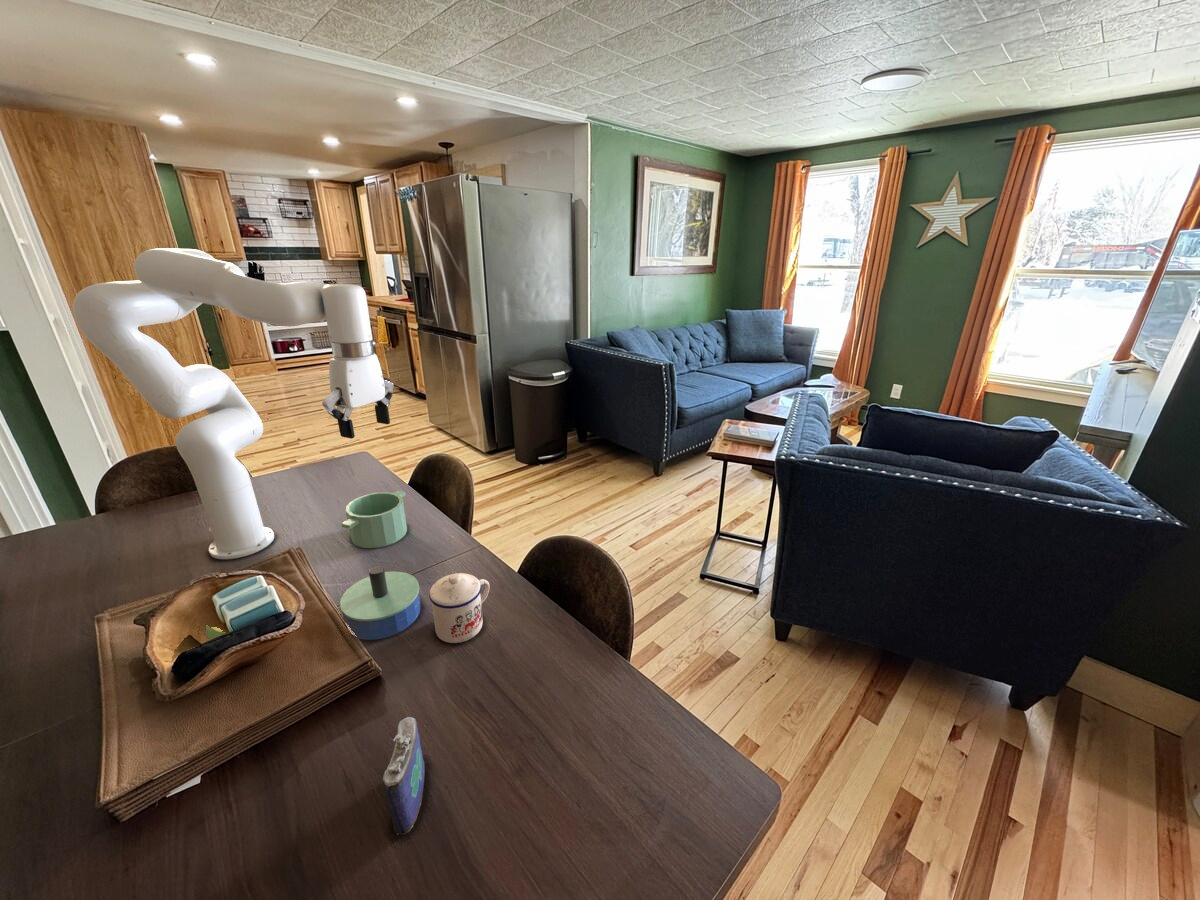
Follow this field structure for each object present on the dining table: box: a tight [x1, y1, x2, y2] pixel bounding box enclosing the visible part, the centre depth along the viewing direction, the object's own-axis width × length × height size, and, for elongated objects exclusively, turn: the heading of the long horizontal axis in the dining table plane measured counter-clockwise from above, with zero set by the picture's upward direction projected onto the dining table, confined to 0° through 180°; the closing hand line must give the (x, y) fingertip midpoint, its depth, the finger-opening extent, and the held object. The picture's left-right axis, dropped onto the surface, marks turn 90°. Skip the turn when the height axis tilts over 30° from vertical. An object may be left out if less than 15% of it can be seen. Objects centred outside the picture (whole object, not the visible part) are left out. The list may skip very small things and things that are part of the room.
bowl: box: [342, 592, 422, 641], centre depth 91 cm, size 13×13×4 cm
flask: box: [382, 716, 426, 836], centre depth 59 cm, size 9×3×11 cm, turn 8°
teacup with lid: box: [428, 572, 491, 644], centre depth 88 cm, size 12×9×12 cm
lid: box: [339, 565, 420, 621], centre depth 89 cm, size 14×14×7 cm
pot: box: [340, 490, 408, 549], centre depth 116 cm, size 13×18×8 cm
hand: (366, 429), depth 101 cm, fingers open, 9 cm apart
